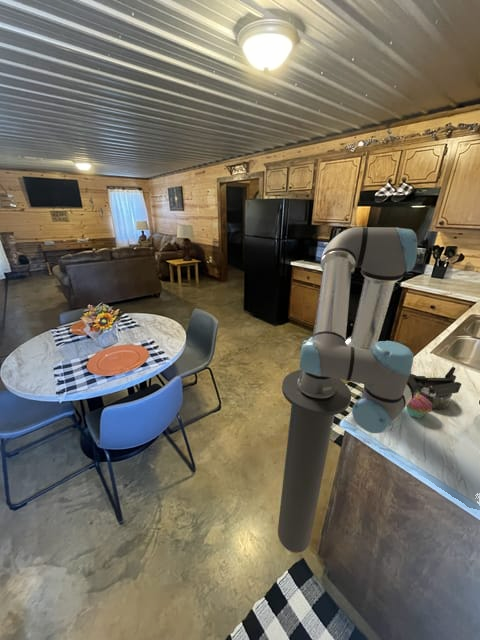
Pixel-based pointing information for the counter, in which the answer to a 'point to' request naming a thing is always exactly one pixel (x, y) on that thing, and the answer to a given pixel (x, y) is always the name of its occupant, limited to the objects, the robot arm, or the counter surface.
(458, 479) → the counter surface
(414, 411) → the cupcake
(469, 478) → the counter surface
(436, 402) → the dark round bowl
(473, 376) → the counter surface
